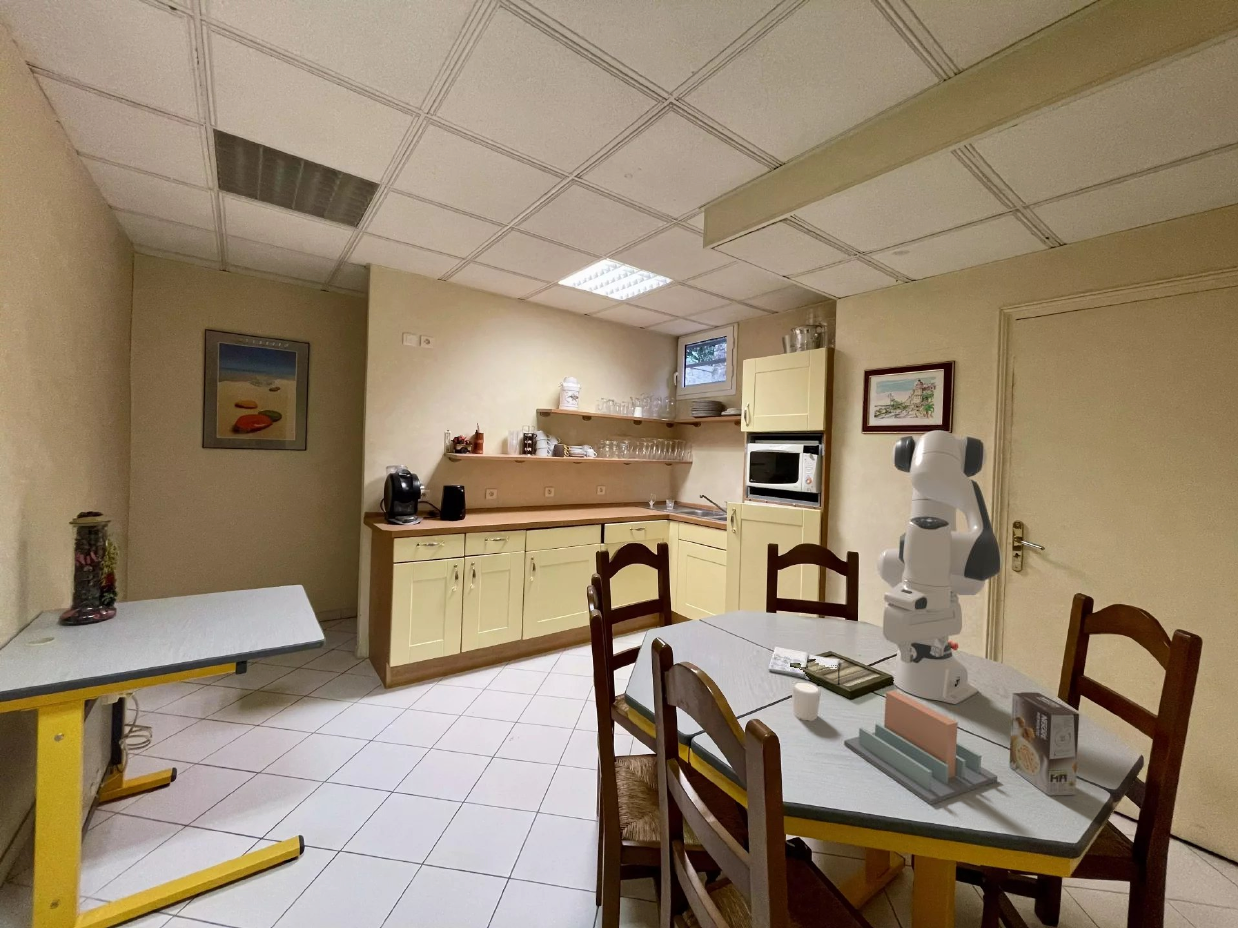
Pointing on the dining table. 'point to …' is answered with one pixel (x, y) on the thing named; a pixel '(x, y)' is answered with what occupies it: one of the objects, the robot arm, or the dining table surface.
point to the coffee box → (1044, 743)
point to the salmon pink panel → (922, 727)
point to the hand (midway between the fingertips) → (922, 658)
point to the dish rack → (920, 765)
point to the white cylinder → (805, 700)
